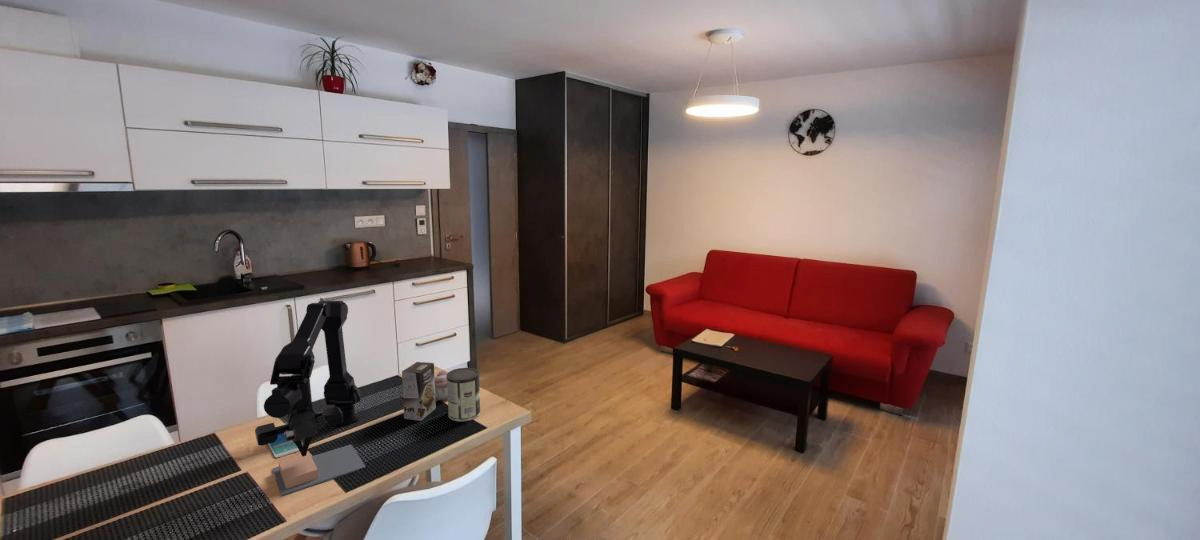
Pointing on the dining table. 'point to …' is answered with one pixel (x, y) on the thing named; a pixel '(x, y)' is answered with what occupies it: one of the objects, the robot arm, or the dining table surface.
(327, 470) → the mat
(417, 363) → the coffee box
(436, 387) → the cupcake
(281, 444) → the smartphone
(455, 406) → the coffee can
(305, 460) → the block
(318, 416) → the robot arm
